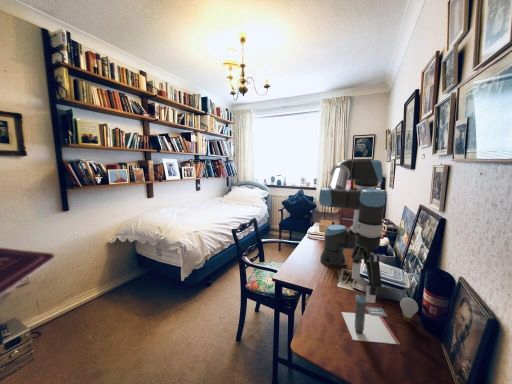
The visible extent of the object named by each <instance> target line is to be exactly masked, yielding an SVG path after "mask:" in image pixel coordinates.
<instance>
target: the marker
mask: <svg viewBox="0 0 512 384" xmlns="http://www.w3.org/2000/svg"><path fill="white" fill-rule="evenodd" d="M366 303H367V302H366V295H363V294H356V295H355V312H354V313H355V331H356V333H358V334H363V331H364V321H365V314H366V308H365V307H366Z"/></svg>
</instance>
